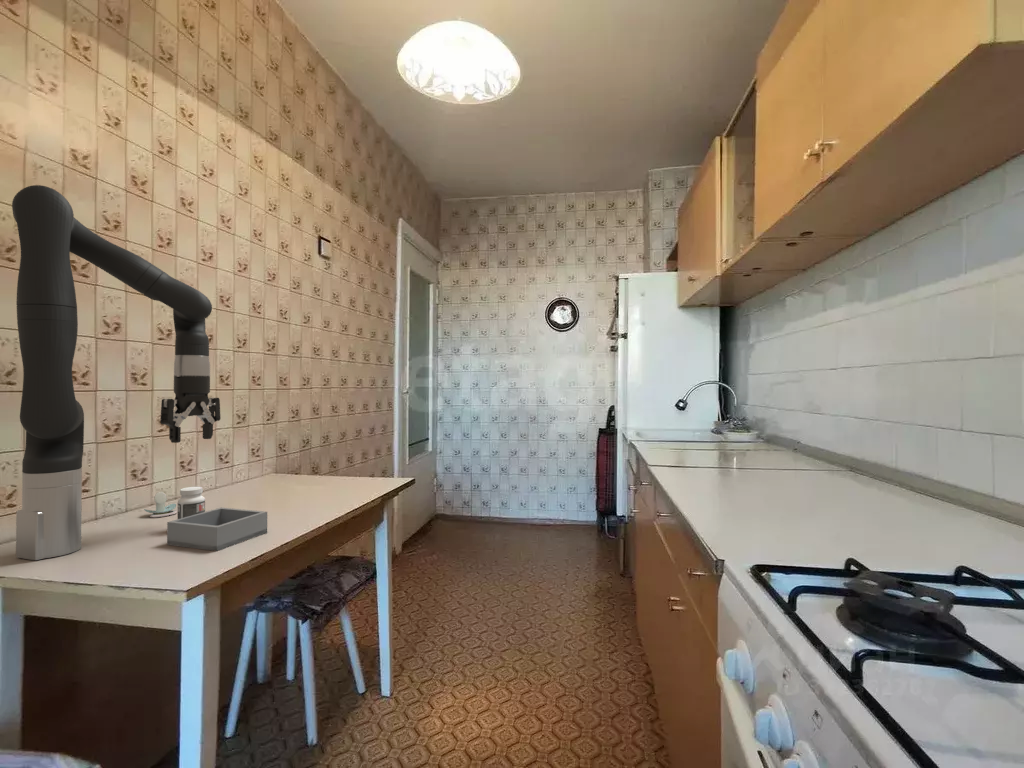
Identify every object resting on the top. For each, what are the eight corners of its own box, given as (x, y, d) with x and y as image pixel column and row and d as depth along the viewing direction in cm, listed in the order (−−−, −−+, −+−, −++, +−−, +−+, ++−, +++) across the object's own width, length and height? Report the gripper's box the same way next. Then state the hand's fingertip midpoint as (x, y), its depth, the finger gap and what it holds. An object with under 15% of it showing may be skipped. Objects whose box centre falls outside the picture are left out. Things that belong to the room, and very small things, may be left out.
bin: (217, 551, 106) (217, 527, 106) (167, 544, 110) (167, 522, 110) (267, 532, 119) (267, 511, 119) (221, 527, 123) (221, 507, 123)
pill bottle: (210, 526, 125) (210, 486, 125) (193, 532, 119) (194, 491, 119) (189, 525, 125) (189, 485, 125) (171, 532, 120) (171, 490, 120)
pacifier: (182, 514, 137) (171, 511, 140) (183, 491, 137) (171, 488, 140) (152, 520, 131) (141, 516, 134) (153, 496, 131) (141, 493, 134)
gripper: (205, 375, 130) (205, 437, 130) (152, 373, 117) (151, 443, 117) (228, 375, 128) (228, 438, 128) (176, 373, 115) (176, 444, 114)
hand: (191, 440), depth 122 cm, fingers open, 8 cm apart
